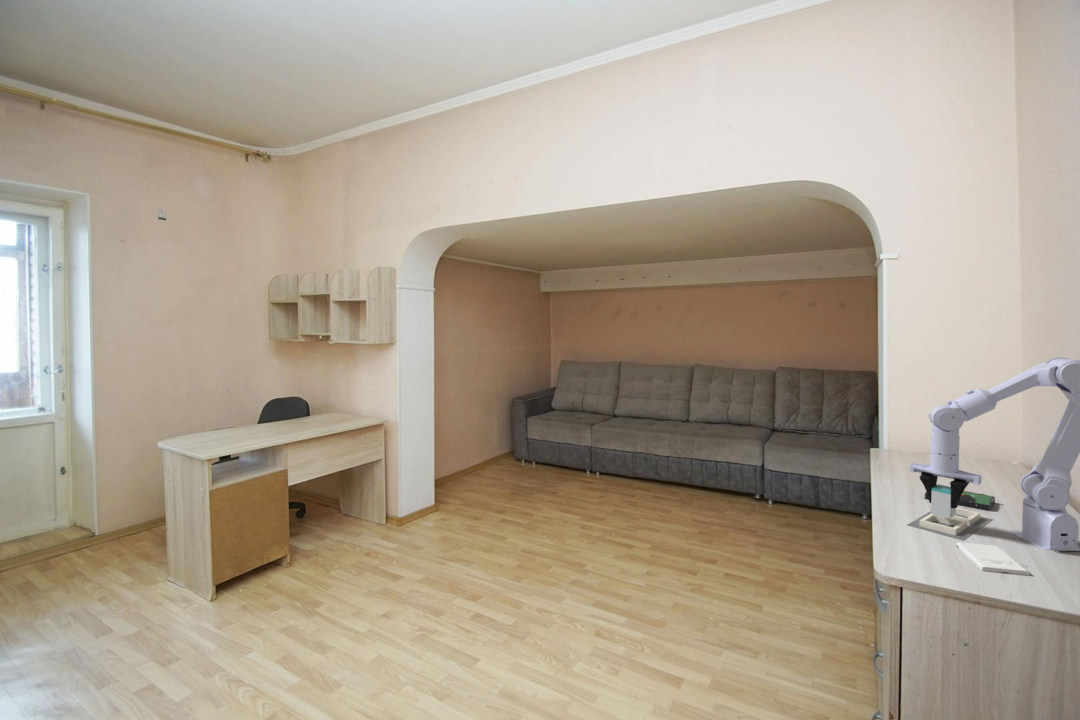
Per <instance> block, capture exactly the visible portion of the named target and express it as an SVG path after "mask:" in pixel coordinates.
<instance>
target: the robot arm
mask: <svg viewBox="0 0 1080 720" xmlns="http://www.w3.org/2000/svg"><path fill="white" fill-rule="evenodd" d="M1034 387H1056V388H1059V389H1060V391H1061V393H1063V395H1064V396H1065V397H1066V399H1067V400H1068V403H1067V406H1066V408H1065V410H1064V412H1063V414H1062V416H1061V418H1060V420H1059V423H1058V425H1057V427H1056V428H1055V431H1054V432H1053V435H1052V437H1051V439H1050V441H1049V443H1048V446H1047V448H1046V449H1045V451H1044V454H1043V456H1042V458H1041V459H1040V461H1039V462H1038V463H1036V464H1035V465H1033V467H1032V469H1031V470H1030V472H1029V473H1027V474H1025V475H1024V476H1023V477H1022V478H1021V480H1020V489H1021V490H1022V491H1023V493H1025V496H1024V498H1023V499H1022V519H1021V520H1022V521H1021V523H1022V524H1021V531H1019V532H1017V531H1013V532H1011V534H1012V535H1014V536H1016V537H1018V538H1021V539H1023V540H1024V541H1027V542H1029V543H1030V544H1032V545H1035V546H1036V547H1038V548H1040V549H1042V550H1046V551H1048V550H1049V551H1054V550H1055V552H1059V551H1060V552H1070V551H1071V552H1073V551H1075V552H1080V547H1079V522H1078V520H1077V519H1076V518H1075V517H1074V516H1072V515H1071V514H1069V513H1068V512H1067V511H1068V510H1067V509H1066V506H1067V505H1069V503H1070V501H1071V494H1070V493H1071V492H1070V489H1071V486H1072V484H1073V482H1072V476H1071V471H1072V469H1073V468H1074V465H1075V464H1076V461H1077V460H1078V457H1079V455H1080V360H1078V359H1069V358H1067V357H1063V356H1062V357H1061V356H1059V357H1053V358H1051V359H1049V360H1047V361H1046V362H1040V363H1038V364H1036V365H1033V366H1031V367H1030V368H1028V369H1026V370H1024V371H1022V372H1020V373H1018V374H1016V375H1015V376H1013V377H1011V378H1008V379H1006V380H1004V381H1002V382H1000V383H998V384H996V385H995V386H993V387H991V388H989V389H986V390H985V389H981V388H976V389H974V390H973V389H968V390H966V391H965V394H963V395H962V396H960V397H957V398H955V399H954V400H952V401H951V400H949V399H948V400H947V401H945V404H940V405H937V406H934V407H933V408H932V409H931V411H930V413H929V414H928V419H929V420H930V421H929V422H931V423H932V424H931V433H930V460H929V462H930V463H929V464H930V465H928V464H921V463H916V462H915V463H914V462H912V463H910V464H909V472H910V473H920V475H919V480H920V482H921V483H922V486H923V487H924V489H925V493H926V492H927V495H928V498H929V500H928V502H929V504H931V496H932V487H934V486H936V485H938V483H937V482H938V477H940V478H947V479H951V481H950V482H949V485H950V486H949V487H951V508H954V509H955V508H958V506H959V505H958V502H959V499H960V497H961V495H962V493H963V491H966V490H965V489H967V487H968V486H969V484H970V483H972V484H973V485H977V486H978V485H981V484H982V477H983V476H982V475H980V474H975V473H971V472H968V471H963V470H961V469H960V468H959V467H960V466H959V465H960V439H961V437H960V429H961V428H962V427H963V425H964V422H969V421H972V420H973V419H975V418H978V417H980V416H982V415H984V414H987V413H989V412H991V411H993V410H995V409H996V406H997V404H998V402H1000V401H1002V400H1005V399H1007V398H1010V397H1012V396H1014V395H1018V394H1019V393H1021V392H1024V391H1027V390H1029V389H1031V388H1034Z"/></svg>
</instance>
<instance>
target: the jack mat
mask: <svg viewBox="0 0 1080 720" xmlns="http://www.w3.org/2000/svg"><path fill="white" fill-rule="evenodd" d="M929 514H931V510H930V511H928V512H927V513H925V514H923V515H922V516H920V517H918V518H917V519H914V520H913V521H910V522H909V523H907V524H906V526H907V527H912V528H916V529H919V530H923V531H925V532H931V533H932V534H933V533H935V534H938V535H941V536H944V537H945V536H946V537H949V538H953V539H957V540H959V541H965V540H967V539H968V538H970V537H972V535H974V534H975V533H977V532H978V531H979V530H980V529H982V528H984V527H986V526H987V524H989V523H991V522H992V521H994V519H992V518H990V517H983V516H980V519H979V520H978V521H976V522H975V523H973V524H972V525H970V526H968V525H967V528H966V529H964V530H963V531H961V532H960V533H958V534H957V535H952V534H948V533H944V532H940V531H937V530H933V529H929V528H925V527H922V526H919V520H921V519H923V518H924V517H926V516H928V515H929ZM955 516H959V517H963V518H969V517H967V516H962V515H958V514H956V515H955ZM932 523H936V524H940V525H944V526H948V527H952V528H953V527H955V526H954V525H950V524H946V523H942V522H938V521H932Z"/></svg>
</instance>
